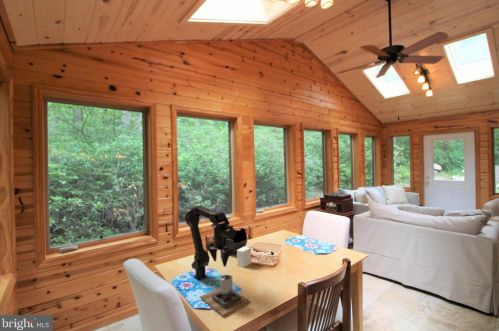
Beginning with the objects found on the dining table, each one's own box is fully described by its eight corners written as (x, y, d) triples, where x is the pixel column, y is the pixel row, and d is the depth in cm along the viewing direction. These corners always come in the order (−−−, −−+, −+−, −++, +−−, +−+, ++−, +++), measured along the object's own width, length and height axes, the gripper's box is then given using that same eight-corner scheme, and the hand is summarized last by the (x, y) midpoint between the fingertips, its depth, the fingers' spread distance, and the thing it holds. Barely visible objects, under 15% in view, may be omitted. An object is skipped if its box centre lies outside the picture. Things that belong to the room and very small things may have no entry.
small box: (244, 261, 170) (244, 246, 169) (251, 263, 166) (251, 247, 166) (237, 265, 163) (236, 249, 163) (243, 267, 160) (243, 251, 159)
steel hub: (220, 296, 125) (220, 274, 124) (232, 296, 125) (232, 274, 125) (220, 303, 119) (220, 280, 118) (233, 302, 119) (232, 279, 119)
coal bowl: (215, 251, 188) (215, 227, 187) (236, 245, 201) (235, 221, 201) (232, 259, 173) (231, 232, 172) (253, 251, 186) (252, 226, 186)
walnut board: (199, 298, 126) (199, 292, 126) (225, 287, 136) (225, 281, 136) (222, 317, 111) (222, 310, 111) (249, 302, 121) (249, 296, 121)
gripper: (241, 236, 134) (242, 264, 134) (221, 229, 148) (222, 254, 148) (224, 241, 126) (225, 271, 127) (205, 233, 140) (206, 260, 141)
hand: (219, 263), depth 136 cm, fingers open, 9 cm apart
